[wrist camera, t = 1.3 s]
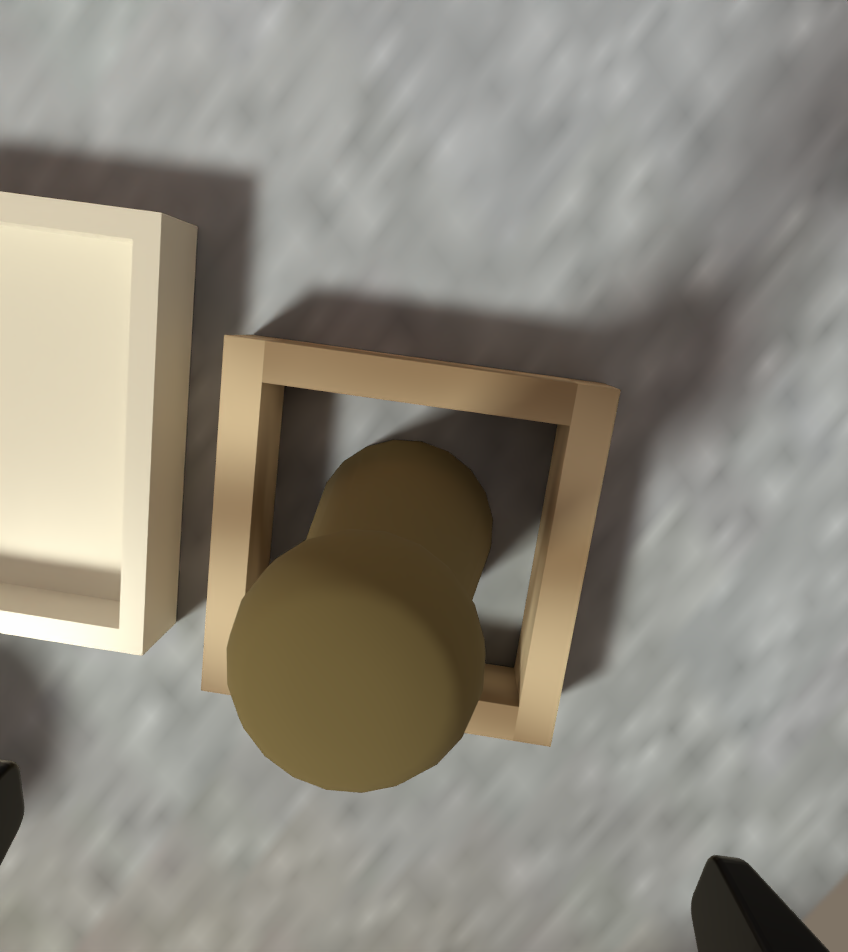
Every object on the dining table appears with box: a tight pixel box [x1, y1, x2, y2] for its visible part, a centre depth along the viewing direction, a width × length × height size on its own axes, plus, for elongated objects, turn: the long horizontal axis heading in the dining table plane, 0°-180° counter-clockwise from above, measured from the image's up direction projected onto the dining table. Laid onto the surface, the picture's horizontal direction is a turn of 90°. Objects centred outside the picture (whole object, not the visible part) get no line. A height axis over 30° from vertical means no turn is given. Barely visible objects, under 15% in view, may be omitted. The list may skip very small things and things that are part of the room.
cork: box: [226, 440, 493, 793], centre depth 17 cm, size 6×6×11 cm
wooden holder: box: [201, 335, 621, 747], centre depth 21 cm, size 11×11×2 cm
